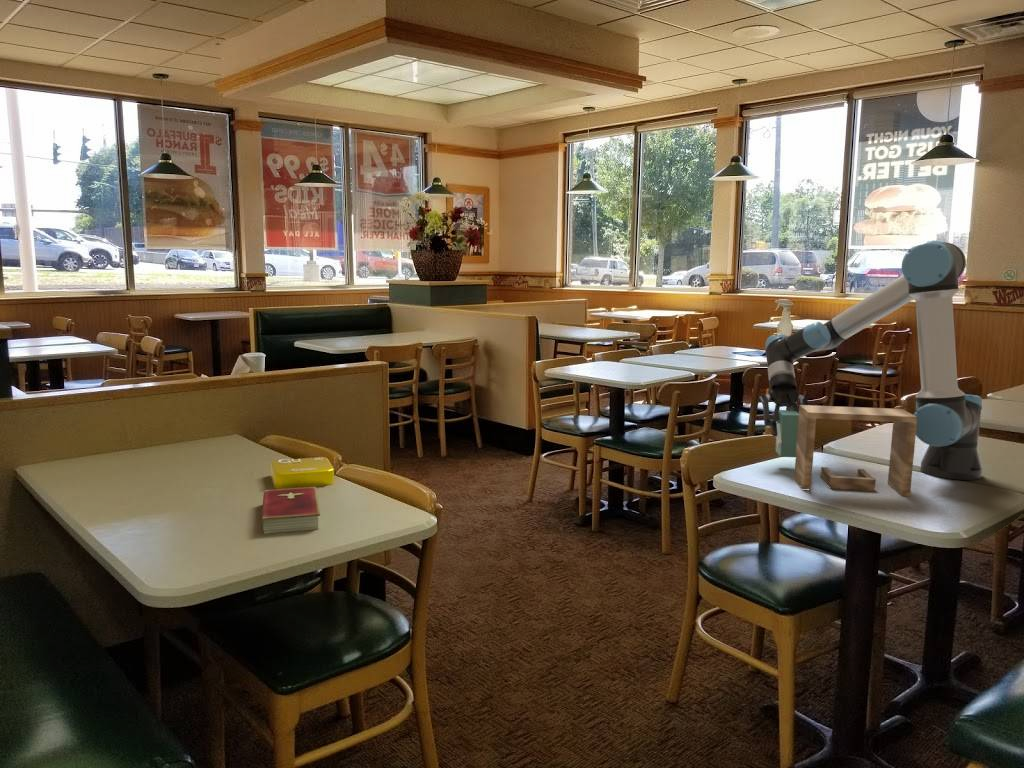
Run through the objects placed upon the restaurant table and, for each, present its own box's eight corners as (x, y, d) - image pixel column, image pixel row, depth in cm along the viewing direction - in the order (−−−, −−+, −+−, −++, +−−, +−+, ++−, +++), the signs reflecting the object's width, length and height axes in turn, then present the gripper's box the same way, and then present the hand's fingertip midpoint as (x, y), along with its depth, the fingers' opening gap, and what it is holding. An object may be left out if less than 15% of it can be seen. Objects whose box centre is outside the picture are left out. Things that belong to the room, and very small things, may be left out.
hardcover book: (261, 536, 162) (260, 517, 161) (263, 506, 181) (263, 489, 181) (320, 531, 165) (319, 512, 164) (316, 502, 185) (315, 485, 184)
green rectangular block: (793, 451, 224) (795, 410, 222) (799, 457, 216) (801, 415, 215) (775, 450, 225) (777, 410, 223) (780, 456, 217) (782, 414, 215)
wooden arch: (892, 481, 209) (898, 407, 206) (909, 496, 195) (917, 416, 192) (792, 476, 213) (797, 403, 210) (802, 490, 199) (808, 412, 196)
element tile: (274, 491, 193) (274, 472, 193) (270, 476, 207) (269, 458, 207) (335, 486, 199) (335, 467, 198) (327, 471, 213) (326, 454, 212)
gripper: (811, 387, 232) (821, 453, 218) (749, 386, 235) (755, 451, 221) (816, 372, 226) (826, 439, 212) (752, 371, 229) (758, 437, 215)
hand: (790, 445), depth 217 cm, fingers closed on green rectangular block, 5 cm apart
